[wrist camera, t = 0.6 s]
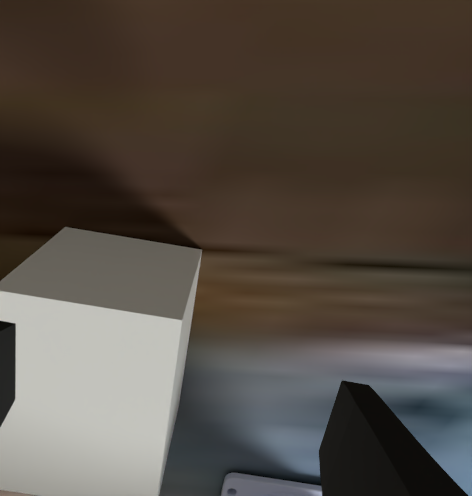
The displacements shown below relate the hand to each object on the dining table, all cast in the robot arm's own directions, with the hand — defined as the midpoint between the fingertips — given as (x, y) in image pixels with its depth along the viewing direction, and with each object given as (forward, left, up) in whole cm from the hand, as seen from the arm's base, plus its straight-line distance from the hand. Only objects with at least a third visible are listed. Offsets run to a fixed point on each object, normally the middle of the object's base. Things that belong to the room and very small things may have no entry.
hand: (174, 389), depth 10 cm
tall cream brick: (-5, +3, -10) cm, 12 cm away
